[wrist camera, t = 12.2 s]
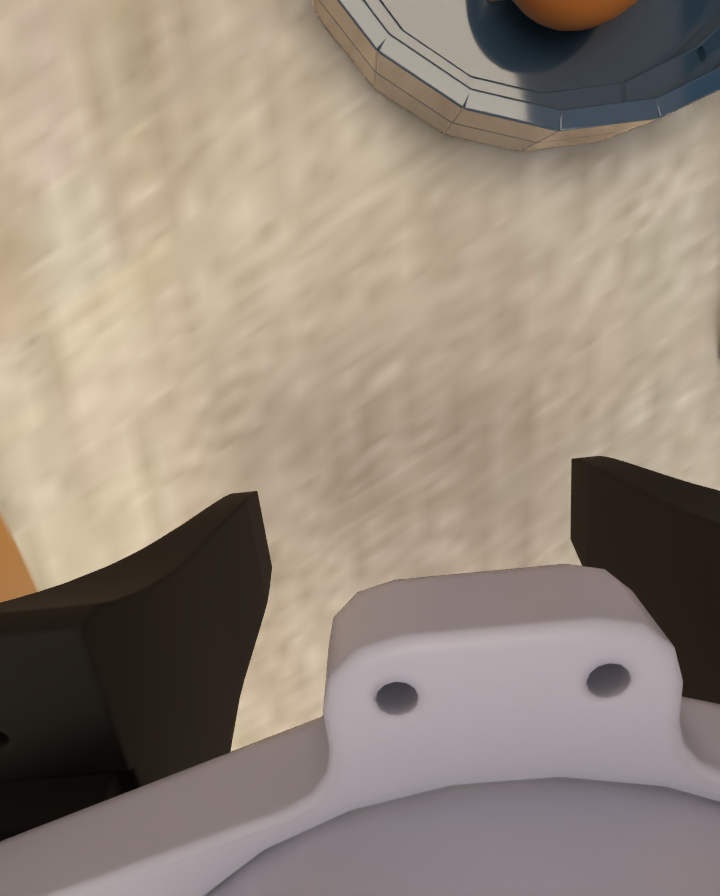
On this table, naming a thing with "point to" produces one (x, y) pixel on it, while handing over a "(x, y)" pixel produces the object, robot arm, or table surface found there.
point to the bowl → (530, 66)
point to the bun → (572, 12)
